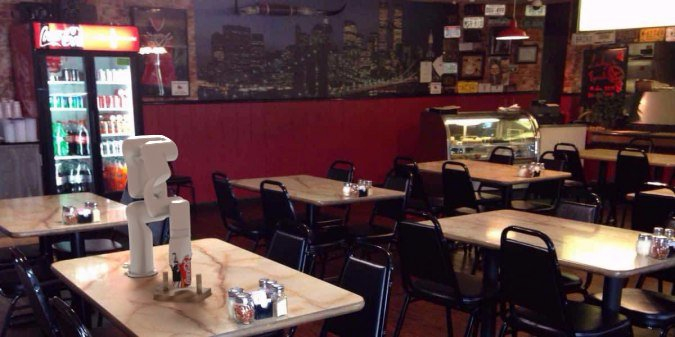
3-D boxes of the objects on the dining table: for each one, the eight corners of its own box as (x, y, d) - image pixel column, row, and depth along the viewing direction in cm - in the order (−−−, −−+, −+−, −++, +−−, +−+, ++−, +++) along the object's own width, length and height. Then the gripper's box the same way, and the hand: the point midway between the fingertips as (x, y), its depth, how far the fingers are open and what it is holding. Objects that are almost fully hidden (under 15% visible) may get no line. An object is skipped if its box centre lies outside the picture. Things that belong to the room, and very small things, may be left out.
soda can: (181, 290, 230) (180, 259, 228) (168, 287, 233) (167, 256, 232) (195, 285, 236) (194, 254, 234) (182, 282, 239) (181, 252, 238)
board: (153, 299, 231) (152, 276, 230) (169, 289, 243) (168, 267, 242) (196, 302, 227) (196, 279, 226) (211, 292, 238) (210, 270, 237)
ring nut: (154, 291, 241) (154, 288, 240) (161, 287, 245) (160, 284, 245) (166, 292, 239) (165, 288, 239) (172, 288, 244) (172, 285, 244)
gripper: (182, 227, 241) (183, 271, 244) (159, 237, 225) (161, 284, 227) (199, 228, 240) (201, 272, 242) (177, 238, 223) (179, 285, 225)
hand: (181, 278), depth 234 cm, fingers closed on soda can, 7 cm apart
